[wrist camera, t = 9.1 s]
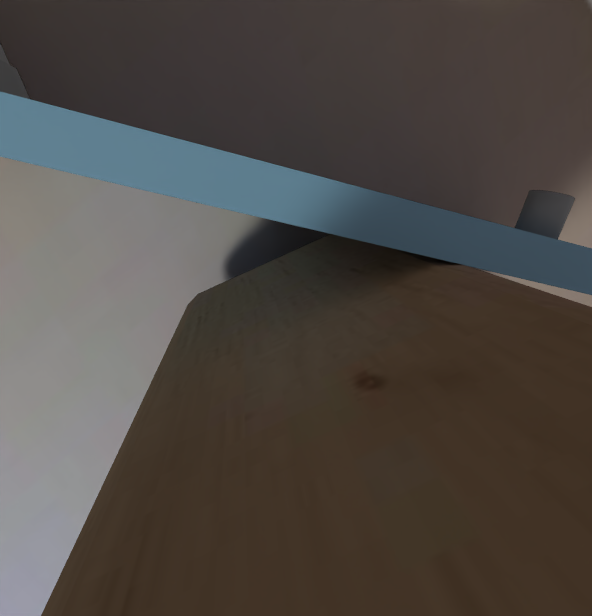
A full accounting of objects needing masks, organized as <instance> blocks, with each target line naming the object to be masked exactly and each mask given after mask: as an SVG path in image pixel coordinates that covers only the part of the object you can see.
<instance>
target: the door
mask: <svg viewBox="0 0 592 616" xmlns="http://www.w3.org/2000/svg"><path fill="white" fill-rule="evenodd" d="M0 156H1V157H5V158H9V159H13V160H18V161H22V162H26V163H30V164H35V165H39V166H43V167H47V168H52V169H56V170H60V171H65V172H69V173H73V174H77V175H82V176H86V177H90V178H94V179H99V180H103V181H107V182H112V183H116V184H120V185H124V186H129V187H133V188H137V189H141V190H146V191H150V192H154V193H158V194H163V195H167V196H171V197H176V198H180V199H184V200H188V201H193V202H197V203H201V204H205V205H210V206H214V207H218V208H223V209H227V210H231V211H235V212H240V213H244V214H248V215H252V216H257V217H261V218H265V219H269V220H274V221H278V222H282V223H287V224H291V225H295V226H299V227H304V228H308V229H312V230H316V231H321V232H325V233H329V234H334V235H338V236H342V237H346V238H351V239H355V240H359V241H363V242H368V243H372V244H376V245H380V246H385V247H389V248H393V249H398V250H402V251H406V252H410V253H415V254H419V255H423V256H427V257H432V258H436V259H440V260H445V261H449V262H453V263H457V264H462V265H466V266H470V267H474V268H479V269H483V270H487V271H492V272H496V273H500V274H504V275H509V276H513V277H517V278H521V279H526V280H530V281H534V282H538V283H543V284H547V285H551V286H556V287H560V288H564V289H568V290H573V291H577V292H581V293H585V294H590V295H592V249H591V248H587V247H584V246H580V245H576V244H572V243H569V242H565V241H561V240H557V239H558V237H559V235H560V232H561V230H562V228H563V226H564V223H565V221H566V219H567V216H568V214H569V212H570V209H571V207H572V205H573V202H574V200H575V198H574V197H572V196H570V195H566V194H562V193H557V192H551V191H543V190H531V191H529V193H528V196H527V198H526V201H525V203H524V206H523V208H522V211H521V213H520V216H519V218H518V221H517V224H516V226H515V228H512V227H508V226H505V225H501V224H497V223H493V222H490V221H486V220H482V219H478V218H475V217H471V216H467V215H463V214H459V213H456V212H452V211H448V210H444V209H441V208H437V207H433V206H429V205H426V204H422V203H418V202H414V201H411V200H407V199H403V198H399V197H395V196H392V195H388V194H384V193H380V192H377V191H373V190H369V189H365V188H362V187H358V186H354V185H350V184H347V183H343V182H339V181H335V180H332V179H328V178H324V177H320V176H316V175H313V174H309V173H305V172H301V171H298V170H294V169H290V168H286V167H283V166H279V165H275V164H271V163H268V162H264V161H260V160H256V159H253V158H249V157H245V156H241V155H237V154H234V153H230V152H226V151H222V150H219V149H215V148H211V147H207V146H204V145H200V144H196V143H192V142H189V141H185V140H181V139H177V138H173V137H170V136H166V135H162V134H158V133H155V132H151V131H147V130H143V129H140V128H136V127H132V126H128V125H125V124H121V123H117V122H113V121H110V120H106V119H102V118H98V117H94V116H91V115H87V114H83V113H79V112H76V111H72V110H68V109H64V108H61V107H57V106H53V105H49V104H46V103H42V102H38V101H34V100H30V99H27V98H23V97H19V96H15V95H12V94H8V93H4V92H0Z"/></svg>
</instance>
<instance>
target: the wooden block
mask: <svg viewBox="0 0 592 616" xmlns="http://www.w3.org/2000/svg"><path fill="white" fill-rule="evenodd" d="M41 616H592V307H589V306H586V305H583V304H580V303H577V302H574V301H571V300H568V299H565V298H562V297H559V296H556V295H553V294H550V293H547V292H544V291H541V290H538V289H535V288H532V287H529V286H526V285H523V284H520V283H517V282H514V281H511V280H508V279H505V278H502V277H499V276H496V275H493V274H490V273H487V272H484V271H481V270H478V269H475V268H472V267H469V266H466V265H462V264H457V263H453V262H449V261H445V260H440V259H436V258H432V257H427V256H423V255H419V254H415V253H410V252H406V251H402V250H398V249H393V248H389V247H385V246H380V245H376V244H372V243H368V242H363V241H359V240H355V239H351V238H346V237H342V236H338V235H334V234H330V235H327V236H325V237H323V238H321V239H319V240H316V241H314V242H312V243H310V244H307V245H305V246H303V247H301V248H299V249H296V250H294V251H292V252H290V253H288V254H285V255H283V256H281V257H279V258H276V259H274V260H272V261H270V262H268V263H265V264H263V265H261V266H259V267H257V268H254V269H252V270H250V271H248V272H246V273H243V274H241V275H239V276H237V277H234V278H232V279H230V280H228V281H226V282H223V283H221V284H219V285H217V286H215V287H212V288H210V289H208V290H206V291H204V292H201V293H199V294H197V295H196V297H195V298H194V299H193V300H192V301H191V302H190V303H189V304H188V306H187V308H186V310H185V312H184V314H183V316H182V318H181V320H180V322H179V325H178V327H177V329H176V331H175V333H174V335H173V337H172V339H171V342H170V344H169V346H168V348H167V350H166V352H165V354H164V356H163V358H162V361H161V363H160V365H159V367H158V369H157V371H156V373H155V375H154V378H153V380H152V382H151V384H150V386H149V388H148V390H147V392H146V395H145V397H144V399H143V401H142V403H141V405H140V407H139V409H138V411H137V414H136V416H135V418H134V420H133V422H132V424H131V426H130V428H129V431H128V433H127V435H126V437H125V439H124V441H123V443H122V445H121V448H120V450H119V452H118V454H117V456H116V458H115V460H114V462H113V464H112V467H111V469H110V471H109V473H108V475H107V477H106V479H105V481H104V484H103V486H102V488H101V490H100V492H99V494H98V496H97V498H96V500H95V503H94V505H93V507H92V509H91V511H90V513H89V515H88V517H87V520H86V522H85V524H84V526H83V528H82V530H81V532H80V534H79V537H78V539H77V541H76V543H75V545H74V547H73V549H72V551H71V553H70V556H69V558H68V560H67V562H66V564H65V566H64V568H63V570H62V573H61V575H60V577H59V579H58V581H57V583H56V585H55V587H54V589H53V592H52V594H51V596H50V598H49V600H48V602H47V604H46V606H45V609H44V611H43V613H42V615H41Z"/></svg>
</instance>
